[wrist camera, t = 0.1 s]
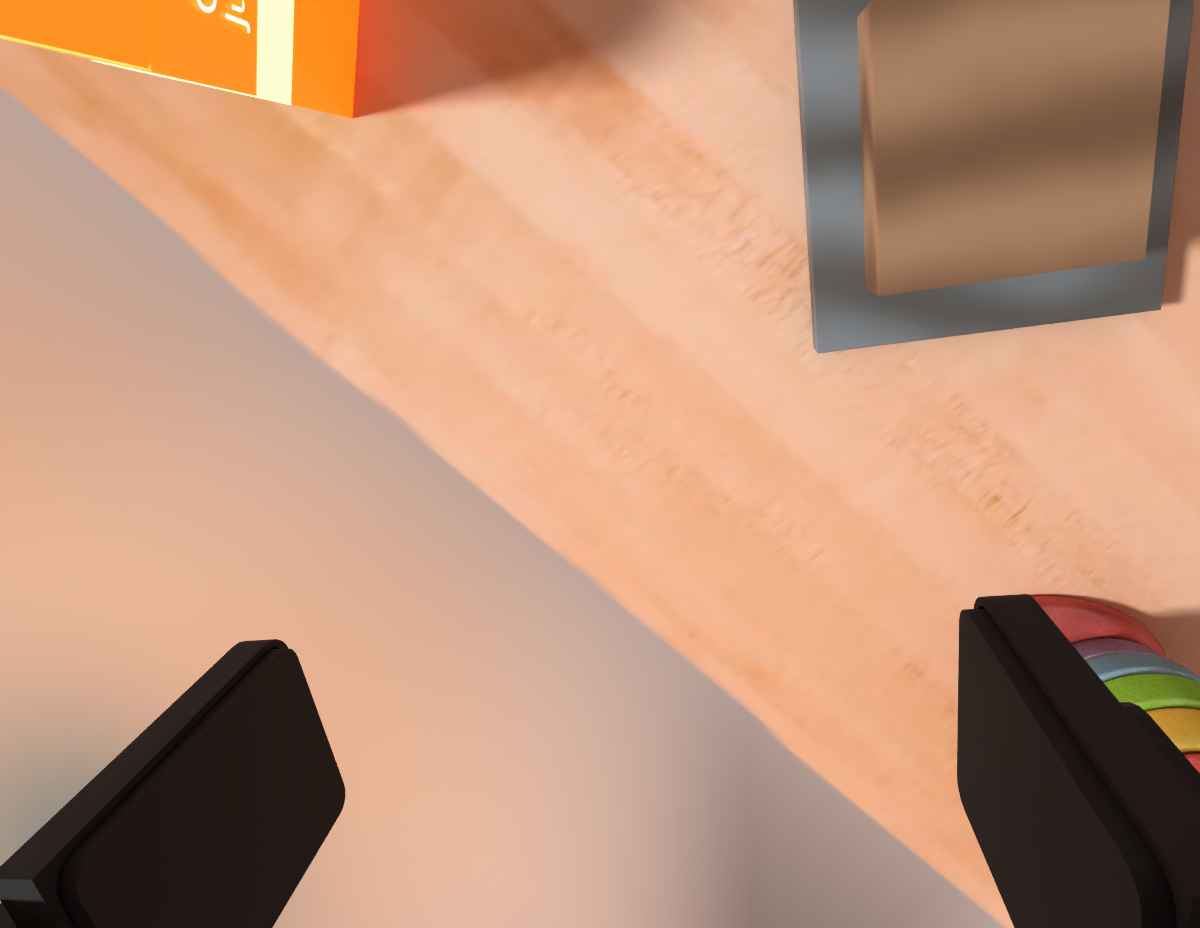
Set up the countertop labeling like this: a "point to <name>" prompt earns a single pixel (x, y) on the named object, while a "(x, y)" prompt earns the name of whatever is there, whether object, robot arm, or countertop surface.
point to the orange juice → (208, 42)
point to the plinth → (958, 301)
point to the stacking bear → (1133, 667)
